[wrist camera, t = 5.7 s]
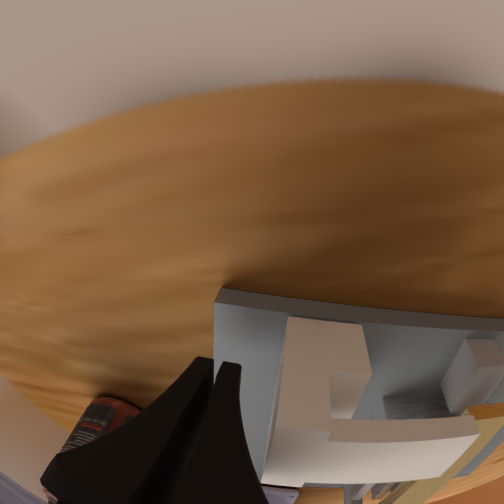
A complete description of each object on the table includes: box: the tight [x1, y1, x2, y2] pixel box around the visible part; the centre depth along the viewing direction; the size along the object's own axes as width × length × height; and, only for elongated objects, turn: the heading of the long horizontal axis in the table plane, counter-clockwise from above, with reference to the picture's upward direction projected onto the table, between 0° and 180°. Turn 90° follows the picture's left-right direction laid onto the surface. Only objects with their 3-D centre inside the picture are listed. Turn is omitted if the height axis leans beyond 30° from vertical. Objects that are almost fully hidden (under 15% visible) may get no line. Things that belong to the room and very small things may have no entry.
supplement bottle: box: [42, 397, 141, 504], centre depth 15 cm, size 6×6×11 cm
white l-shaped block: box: [261, 316, 480, 487], centre depth 10 cm, size 4×7×5 cm, turn 86°
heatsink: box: [350, 397, 494, 500], centre depth 13 cm, size 7×7×3 cm
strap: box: [379, 402, 504, 504], centre depth 11 cm, size 13×2×1 cm, turn 176°
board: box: [213, 288, 504, 504], centre depth 13 cm, size 16×22×6 cm
